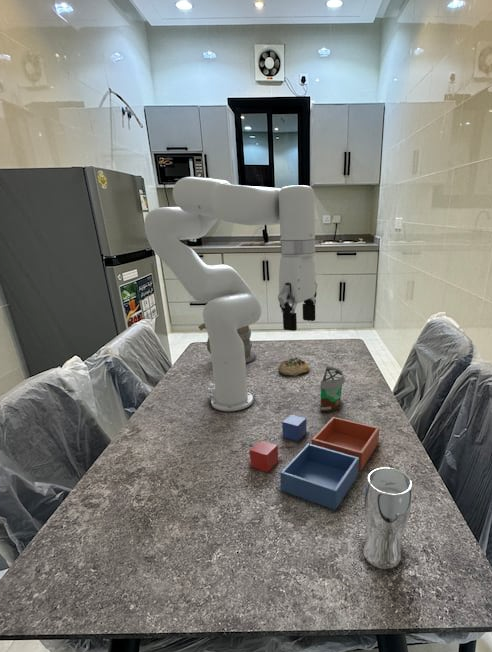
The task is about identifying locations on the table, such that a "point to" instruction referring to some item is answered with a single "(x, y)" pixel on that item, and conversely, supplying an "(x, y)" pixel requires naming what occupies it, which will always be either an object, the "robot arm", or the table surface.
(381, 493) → the beer glass
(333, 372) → the food container
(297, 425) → the blue block
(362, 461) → the red bin
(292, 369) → the bread roll
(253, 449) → the red block
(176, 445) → the table surface
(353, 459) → the blue bin
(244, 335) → the tankard
